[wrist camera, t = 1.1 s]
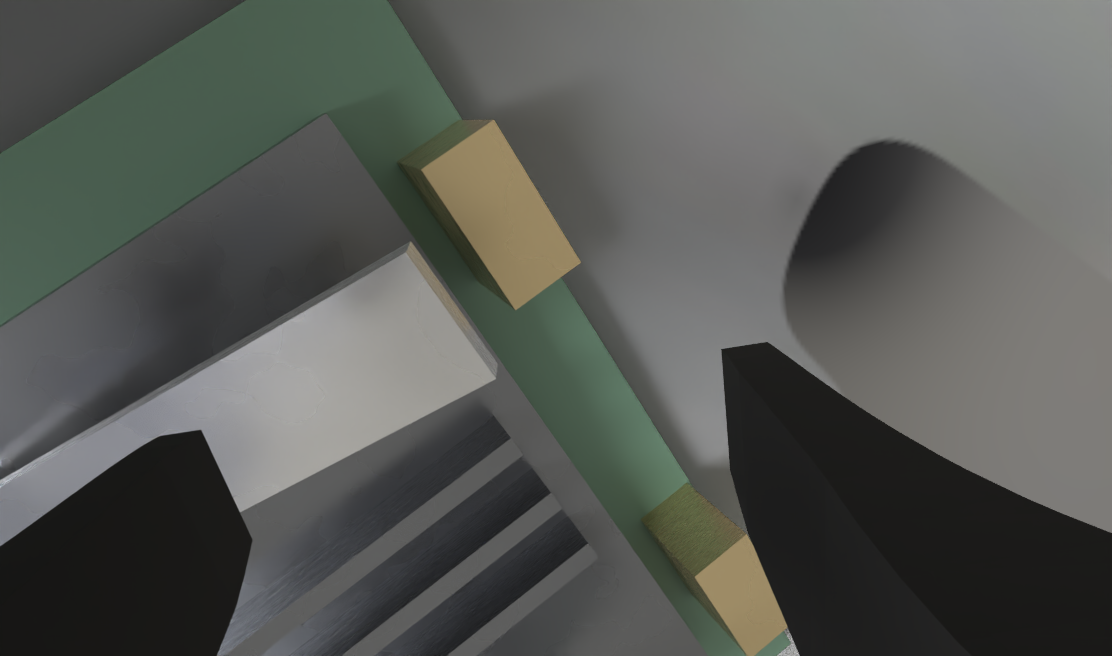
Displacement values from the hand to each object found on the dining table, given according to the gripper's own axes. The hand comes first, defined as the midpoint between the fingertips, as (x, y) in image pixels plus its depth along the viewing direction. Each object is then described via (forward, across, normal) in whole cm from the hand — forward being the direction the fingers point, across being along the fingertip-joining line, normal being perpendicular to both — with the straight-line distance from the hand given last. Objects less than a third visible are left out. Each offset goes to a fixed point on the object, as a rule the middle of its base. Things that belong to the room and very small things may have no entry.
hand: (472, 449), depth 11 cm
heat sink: (+9, +5, +9) cm, 14 cm away
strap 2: (+5, +6, +2) cm, 8 cm away
